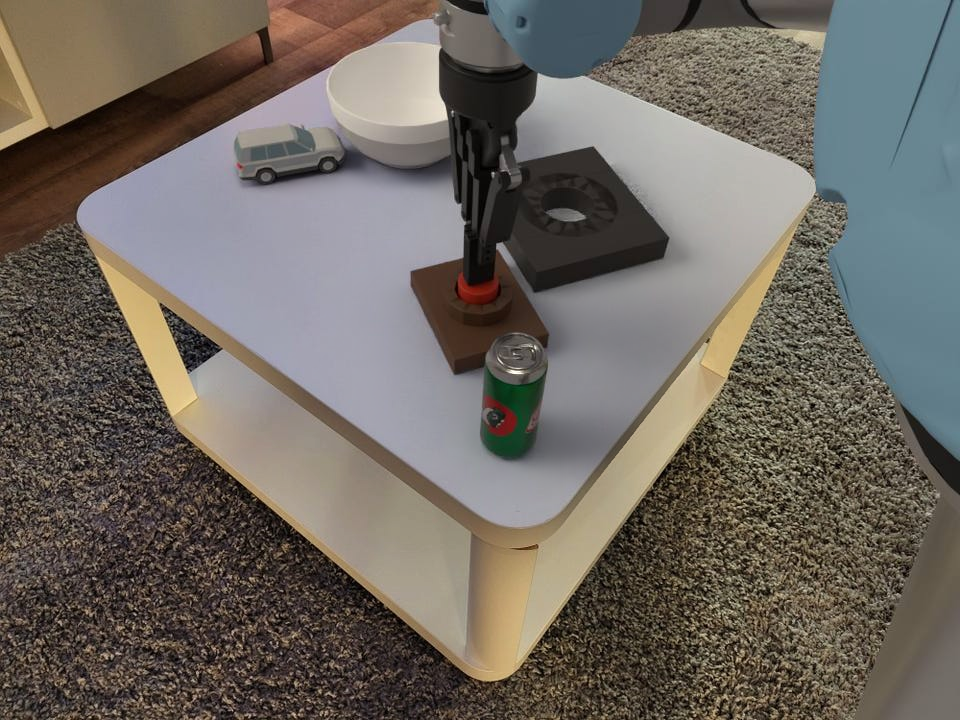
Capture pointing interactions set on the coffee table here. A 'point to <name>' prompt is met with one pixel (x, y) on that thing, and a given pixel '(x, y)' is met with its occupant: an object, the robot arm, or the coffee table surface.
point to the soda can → (512, 394)
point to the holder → (580, 222)
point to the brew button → (478, 291)
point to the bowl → (392, 103)
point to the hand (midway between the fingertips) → (478, 277)
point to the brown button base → (473, 313)
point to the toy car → (286, 151)
